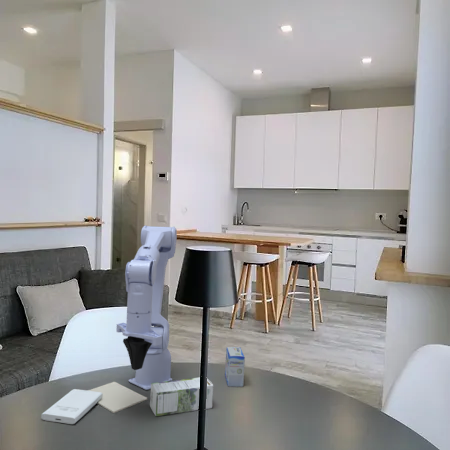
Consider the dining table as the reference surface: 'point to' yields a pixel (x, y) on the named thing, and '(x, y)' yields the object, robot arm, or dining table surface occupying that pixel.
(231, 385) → the medicine box
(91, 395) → the external hard drive
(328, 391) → the dining table surface
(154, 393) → the syrup box
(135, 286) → the robot arm
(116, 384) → the mat
